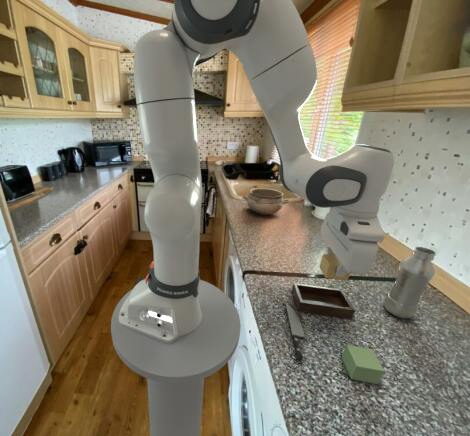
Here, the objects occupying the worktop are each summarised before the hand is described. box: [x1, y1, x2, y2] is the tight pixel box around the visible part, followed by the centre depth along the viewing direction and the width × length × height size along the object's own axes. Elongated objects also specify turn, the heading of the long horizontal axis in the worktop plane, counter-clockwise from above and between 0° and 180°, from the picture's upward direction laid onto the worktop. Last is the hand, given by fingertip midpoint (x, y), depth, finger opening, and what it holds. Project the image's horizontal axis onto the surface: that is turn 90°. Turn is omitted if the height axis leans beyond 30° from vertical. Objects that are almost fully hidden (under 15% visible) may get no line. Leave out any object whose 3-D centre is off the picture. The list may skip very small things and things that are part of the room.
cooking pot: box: [241, 187, 291, 216], centre depth 134 cm, size 25×19×12 cm
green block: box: [341, 344, 385, 385], centre depth 51 cm, size 5×5×4 cm
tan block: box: [319, 253, 351, 281], centre depth 61 cm, size 5×5×4 cm
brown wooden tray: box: [291, 282, 356, 320], centre depth 70 cm, size 14×9×3 cm, turn 78°
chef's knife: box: [284, 301, 306, 361], centre depth 62 cm, size 19×1×3 cm
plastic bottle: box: [383, 246, 437, 319], centre depth 64 cm, size 6×7×20 cm
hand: (334, 267), depth 61 cm, fingers closed on tan block, 5 cm apart
